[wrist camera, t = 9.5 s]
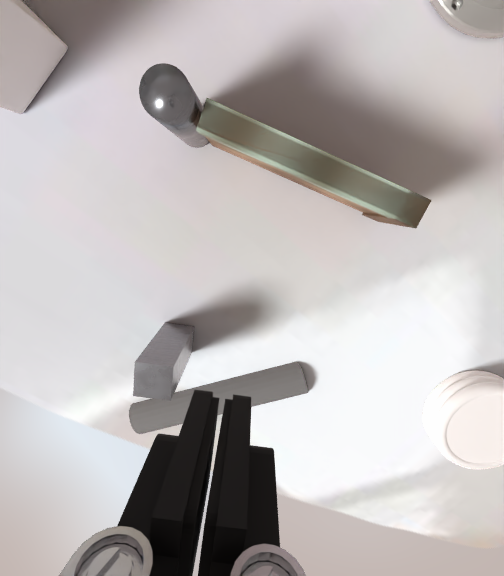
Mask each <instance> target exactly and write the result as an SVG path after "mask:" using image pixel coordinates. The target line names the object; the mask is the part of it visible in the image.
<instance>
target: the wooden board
mask: <svg viewBox="0 0 504 576" xmlns="http://www.w3.org/2000/svg"><path fill="white" fill-rule="evenodd" d="M196 131H197V132H198V133H199V134H201V135H203V136H205V137H206V138H207V139H208V141H209V142H210V143H211V144H212V145H213V146H215V147H217V148H219V149H222V150H224V151H226V152H228V153H231V154H233V155H235V156H237V157H240V158H242V159H244V160H246V161H249V162H251V163H253V164H255V165H258V166H260V167H262V168H264V169H267V170H269V171H271V172H273V173H276V174H278V175H280V176H282V177H285V178H287V179H289V180H291V181H294V182H296V183H298V184H300V185H303V186H305V187H307V188H309V189H312V190H314V191H316V192H318V193H321V194H323V195H325V196H327V197H330V198H332V199H334V200H336V201H339V202H341V203H343V204H345V205H348V206H350V207H352V208H354V209H357V210H359V211H361V212H363V214H362V215H364V216H367V217H369V218H371V219H373V220H376V221H378V222H383V223H389V224H394V225H400V226H406V227H411V228H417V226H418V224H419V222H420V220H421V218H422V217H423V215H424V213H425V211H426V209H427V207H428V206H429V204H430V202H431V200H430V199H428V198H425V197H423V196H421V195H419V194H417V193H414V192H412V191H410V190H408V189H406V188H403V187H401V186H399V185H397V184H395V183H393V182H390V181H388V180H386V179H384V178H382V177H379V176H377V175H375V174H373V173H371V172H368V171H366V170H364V169H362V168H360V167H358V166H355V165H353V164H351V163H349V162H347V161H344V160H342V159H340V158H338V157H336V156H333V155H331V154H329V153H327V152H325V151H322V150H320V149H318V148H316V147H314V146H312V145H309V144H307V143H305V142H303V141H301V140H298V139H296V138H294V137H292V136H290V135H287V134H285V133H283V132H281V131H279V130H277V129H274V128H272V127H270V126H268V125H266V124H263V123H261V122H259V121H257V120H255V119H252V118H250V117H248V116H246V115H244V114H241V113H239V112H237V111H235V110H233V109H231V108H228V107H226V106H224V105H222V104H220V103H217V102H215V101H213V100H211V99H209V98H207V99H206V102H205V105H204V108H203V111H202V114H201V117H200V120H199V123H198V126H197V129H196Z"/></svg>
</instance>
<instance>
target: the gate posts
mask: <svg viewBox="0 0 504 576" xmlns="http://www.w3.org/2000/svg"><path fill="white" fill-rule="evenodd" d="M139 94H140V99H141V102H142V105H143V107H144V108H145V110H146V111H147V112H148V113H149V114H150V115H151V116H152V117H153V118H155V119H156V120H157V121H158V122H160V123H161V124H162V125H164V126H165V127H166V128H167V129H169V130H170V131H171V132H172V133H174V134H175V135H176V136H177V137H179V138H180V139H181V140H182V141H184V142H185V143H186V144H188V145H189V146H191V147H195V148H199V147H203V146H205V145H206V144H208V143H209V141H208V139H207V138H206V137H205V136H203V135H201V134H199V133H198V132H197V131H196V129H197V126H198V123H199V120H200V117H201V114H202V111H203V108H204V107H203V106H202V104H201V102H200V100H199V99H198V97H197V95H196V94H195V92H194V90H193V88H192V87H191V85H190V83H189V82H188V80H187V78H186V77H185V75H184V74H183V73H182V72H181V71H180V70H179V69H178V68H177V67H175V66H173V65H170V64H157V65H154V66H152V67H151V68H149V69H148V70H147V71H146V72H145V74H144V75H143V77H142V79H141V82H140V87H139ZM193 334H194V326H188V325H181V324H174V323H166V322H165V323H164V325H163V326H162V327H161V329H160V330H159V331H158V332H157V334H156V335H155V336H154V338H153V339H152V340H151V342H150V343H149V344H148V346H147V347H146V348H145V350H144V351H143V352H142V353H141V355H140V356H139V357H138V359H137V360H136V361H135V370H134V391H133V396H138V397H146V398H154V399H161V400H169V401H171V399H172V397H173V394H174V392H175V390H176V387H177V385H178V383H179V381H180V378H181V376H182V374H183V371H184V369H185V367H186V365H187V362H188V360H189V358H190V355H191V353H192V344H193Z"/></svg>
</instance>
